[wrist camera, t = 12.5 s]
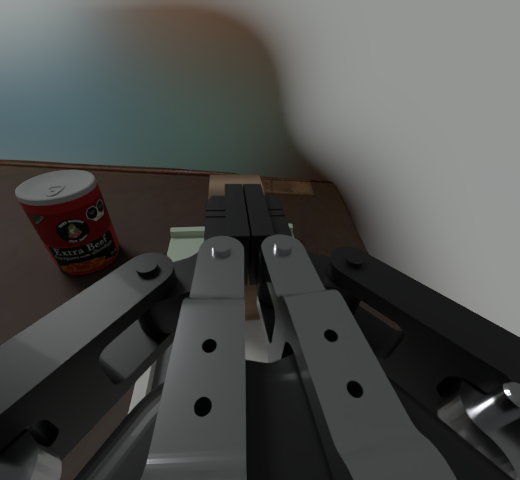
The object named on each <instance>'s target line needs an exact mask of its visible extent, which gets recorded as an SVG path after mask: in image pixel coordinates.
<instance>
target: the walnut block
mask: <svg viewBox="0 0 520 480" xmlns="http://www.w3.org/2000/svg"><path fill="white" fill-rule="evenodd" d="M225 184H242V187H243V184H261V187H262V190H263V186H262V183H261V179H260V176H259V175H210V184H209V197H208V200H209V199H210V197H211V196H225ZM263 194H264V195H265V193H264V190H263ZM244 298H245V321H246V320H259V319H260V316H259V312H258V307H257V302H256V300H257V287H256V285H249V279H248V285H245V289H244Z"/></svg>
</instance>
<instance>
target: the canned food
mask: <svg viewBox="0 0 520 480" xmlns="http://www.w3.org/2000/svg"><path fill="white" fill-rule="evenodd" d="M15 194H16V196H17V199H18V201H19V202H20V204H21V206H22V208H23V210H24V211H25V213H26V215H27V216H28V218H29V220H30V221H31V223H32V225H33V226H34V228H35V230H36V231H37V233H38V235H39V236H40V238H41V240H42V241H43V243H44V245H45V246H46V248H47V250H48V251H49V253H50V255H51V256H52V258H53V260H54V261H55V263H56V265H57V266H58V267H59V268H60V269H61V270H63V271H64V272H66V273H68V274H72V275H84V274H89V273H93V272H96V271H99V270H101V269H103V268H105V267H106V266H108V265H109V264H110V263H112V262H113V261H114V260H115V259H116V257H117V256H118V253H119V242H118V239H117V236H116V233H115V231H114V228H113V225H112V222H111V219H110V217H109V214H108V211H107V208H106V205H105V203H104V200H103V197H102V194H101V192H100V189H99V186H98V184H97V181H96V179H95V177H94V175H93V174H91V173H89V172H86V171H81V170H61V171H54V172H49V173H45V174H41V175H38V176H36V177H33V178H31V179H28V180H27V181H25V182H23V183H22V184H20V185H19V186H18V187H17V188H16V190H15Z"/></svg>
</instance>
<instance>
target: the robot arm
mask: <svg viewBox="0 0 520 480" xmlns="http://www.w3.org/2000/svg"><path fill="white" fill-rule="evenodd" d="M205 217H206V218H205V231H204V242H203V243H202V244H201V246H200V248H199V251H198V252H197V253H196V254H194V255H193V256H191V257H188V258H186V259H182V260H179V261H175V262H173V261H172V260H171V259H170V258H169V257H168V256H167V255H164V254H161V253H146V254H142V255H139V256H136V257H134V258H132V259H131V260H129V261H128V262H126V263H125V264H123V265H122V266H120V267H119V268H117V269H116V270H114V271H113V272H111V273H110V274H108V275H107V276H105V277H104V278H102V279H101V280H99V281H98V282H96V283H94V284H93V285H91V286H90V287H88V288H87V289H85V290H84V291H82V292H81V293H79V294H78V295H76V296H75V297H73V298H72V299H70V300H69V301H67V302H66V303H64V304H63V305H61V306H60V307H58V308H57V309H55V310H54V311H52V312H51V313H49V314H48V315H46V316H45V317H43V318H42V319H40V320H39V321H37V322H36V323H34V324H33V325H31V326H30V327H28V328H27V329H25V330H24V331H22V332H20V333H19V334H17V335H16V336H14V337H13V338H11V339H10V340H8V341H7V342H5V343H4V344H2V345H1V346H0V480H60V476H61V469H62V466H61V460H62V459H63V458H64V457H65V456H66V455H67V454H68V453H69V452H70V451H71V450H72V449H73V448H74V447H75V446H76V445H77V444H78V443H79V441H80V440H81V439H82V438H83V437H84V436H85V435H86V434H87V433H88V432H89V431H90V430H91V429H92V428H93V427H94V426H95V425H96V423H97V422H98V421H99V420H100V419H101V418H102V417H103V416H104V415H105V414H106V413H107V412H108V411H109V410H110V409H111V408H112V407H113V405H114V404H115V403H116V402H117V401H118V400H119V399H120V398H121V397H122V396H123V395H124V394H125V393H126V392H127V391H128V390H129V389H130V387H131V386H132V385H133V384H134V383H135V382H136V381H137V380H138V379H139V378H140V377H141V376H142V375H143V374H144V373H145V372H146V371H147V369H148V368H149V367H150V366H151V365H152V364H153V363H154V362H155V361H156V360H157V359H158V358H159V357H160V356H161V355H162V354H163V353H164V351H165V350H166V349H167V348H168V347H169V346H170V345H171V344H172V343H173V346H172V351H171V355H170V360H169V364H168V369H167V373H166V378H165V382H163V383H162V384H160V385H159V386H157V387H156V388H154V389H153V390H152V391H151V392H149V393H148V394H147V395H146V396H145V397H144V398H143V399H142V400H141V401H140V402H139V403H138V404H137V405H136V406H135V407H134V408H133V409H132V410H131V411H130V413H129V414H128V415H127V416H126V417H125V419H124V420H123V421H122V422H121V423H120V425H119V426H118V427H117V428H116V429H115V431H114V432H113V433H112V434H111V435H110V437H109V438H108V439H107V440H106V441H105V443H104V444H103V445H102V446H101V447H100V449H99V450H98V451H97V452H96V453H95V454H94V456H93V457H92V458H91V459H90V460H89V462H88V463H87V464H86V465H85V466H84V468H83V469H82V470H81V471H80V472H79V474H78V475H77V476H76V477H75V478H74V480H520V337H518V336H516V335H514V334H513V333H511V332H509V331H507V330H505V329H504V328H502V327H500V326H498V325H496V324H494V323H492V322H491V321H489V320H487V319H485V318H483V317H482V316H480V315H478V314H476V313H474V312H472V311H470V310H469V309H467V308H465V307H463V306H462V305H460V304H458V303H456V302H454V301H453V300H451V299H449V298H447V297H445V296H443V295H442V294H440V293H438V292H436V291H434V290H432V289H431V288H429V287H427V286H425V285H423V284H421V283H420V282H418V281H416V280H414V279H412V278H411V277H409V276H407V275H405V274H403V273H402V272H400V271H398V270H396V269H394V268H392V267H391V266H389V265H387V264H385V263H383V262H381V261H380V260H378V259H376V258H374V257H372V256H371V255H369V254H367V253H365V252H363V251H361V250H359V249H356V248H352V247H340V248H337V249H335V250H334V251H333V252H332V253H331V256H330V257H328V256H323V255H318V254H314V253H310V252H308V251H306V250H305V248H304V246H303V245H302V243H301V242H300V241H299V240H297V239H296V238H294V237H293V236H292V234H291V231H290V228H289V225H288V222H287V220H286V217H285V214H284V211H283V208H282V206H281V203H280V201H279V200H278V199H277V198H275V197H274V196H273V195H264V194H263V190H262V187H261V184H243V187H242V184H225V196H211V197H210V199H209V200H208V201H207V202H206V216H205ZM248 279H249V285H256V287H257V300H256V302H257V307H258V312H259V316H260V320H261V325H262V329H263V333H264V337H265V342H266V346H267V351H268V363H264V362H258V361H252V360H246V359H245V298H244V289H245V285H248ZM361 300H362V301H363V302H365V303H366V304H368V305H369V306H371V307H372V308H374V309H375V310H377V311H379V312H380V313H382V314H383V315H385V316H386V317H388V318H389V319H391V320H392V321H394V322H395V323H397V324H398V325H399V326H400V327H401V328H402V330H403V331H398V330H395V329H393V328H391V327H390V326H389V325H387V324H386V323H384V322H383V321H381V320H380V319H378V318H377V317H375V316H374V315H372V314H371V313H369V312H368V311H366V310H365V309H363V308H362V307H360V306H359V304H360V302H361Z"/></svg>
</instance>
